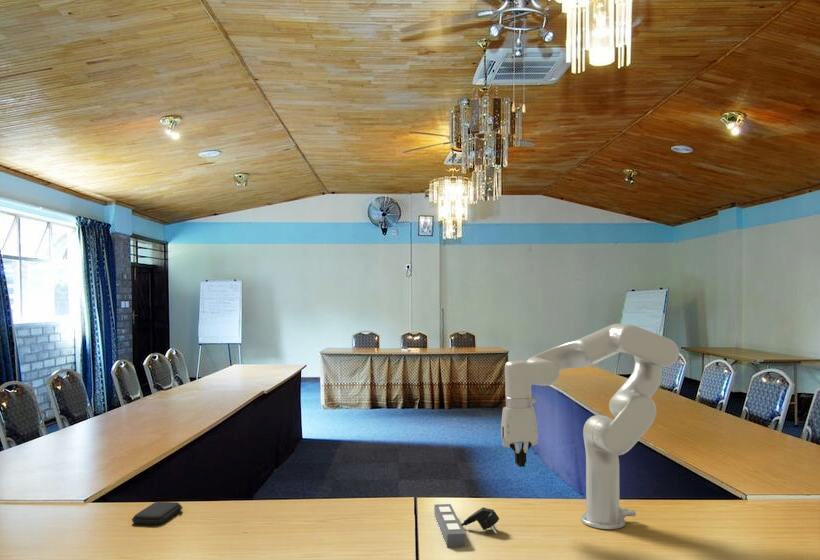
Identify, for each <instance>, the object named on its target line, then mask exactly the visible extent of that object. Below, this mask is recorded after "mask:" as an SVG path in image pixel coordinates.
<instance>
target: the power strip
mask: <svg viewBox="0 0 820 560" xmlns="http://www.w3.org/2000/svg"><path fill="white" fill-rule="evenodd" d="M433 505H434V506H433V508H434V509H433V510H434V515H435V516H434V518H435V517H436V519H435V521H436V520H437V521H436V523H437V522H438V524H437V526H438V525H439V526H438V528H439V527H440V529H439V531H440V530H441V531H440V533H441V532H442V533H441V536H442V535H443V536H442V539H443V541H444V540H445V541H444V543H445V542H446V543H445V545H447V546H446V548H463V547H464V548H465V547H466V541H467V540H466V532H465V530H464V527H463V526H461V524H462V523H461V522H460V520H459V518H458V515H457V514H456V512H455V509H454V508H453V506H452V505H451V503H443V504H442V503H441V504H439V503H438V504H433Z"/></svg>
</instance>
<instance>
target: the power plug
mask: <svg viewBox="0 0 820 560" xmlns="http://www.w3.org/2000/svg"><path fill="white" fill-rule="evenodd" d="M499 520H500V517H499V516H498V515H497V513H496V511H495V510H494V509H492V508H491V509H490V508H487V507H484V506H483V507H481V508H480V509H478V510H476V511H475V512H473V513H472V514H471V515H469V516H468V517H467V518H466V519H465V520H463V522H462V523H460V524H461V526H462V527H464V526H468V525H471V524H473V523H475V522H477V523H478V524H479V526H480V527H481V529H482V530H483V531H486V530H487V529H490V530H491V531H492V532H493V534H494V535H497V534H498V530H499V529H498V528H497V525H496V524H497V522H499Z"/></svg>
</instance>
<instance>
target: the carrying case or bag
mask: <svg viewBox="0 0 820 560" xmlns="http://www.w3.org/2000/svg"><path fill="white" fill-rule="evenodd" d="M183 508H184V507H183V506H182V505H181V503H180V502H173V501H155V502H153V503H152V504H150V505H149V506H147V507H145V508H143V509H142V510H140V511H139V512H137V513H136V514H135V515H134V516H133V517H132V519H131V521H132V523H133V524H134V525H135V526H136V525H137V526H138V525H141V526H161V525H162V524H163V523H165V522H166V521H168V520H169V519H171V518H172V517H173V516H175V515H176V514H178V513H181V512H182V510H183Z"/></svg>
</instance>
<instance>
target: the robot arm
mask: <svg viewBox="0 0 820 560" xmlns="http://www.w3.org/2000/svg"><path fill="white" fill-rule="evenodd" d="M619 353H624V354H629V355H632V356H633V358H634V367H633V371H632V372H631V375H630V376H629V377H628V378H627V379H626V381H625V382H624V383H623V384H622V385H621V386H620V388H619V389H618V390H617V391H616V392H615V393H614V395H613V396H612V397H611V398H610V401H609V403H608V409H609V410H608V411H610V413H611V414H612V416H614V418H612V417H609V416H606V415H603V414H595V415H592V416H590V417H589V418H588V419H587V420H586V421H585V423H584V425H583V429H582V430H583V431H582V432H583V433H582V434H583V435H582V436H583V443H584V448H585V449H584V450H585V490H586V492H585V493H586V494H585V499H586V500H585V501H586V502H585V505H586V507H585V509H586V512H583V513H582V514H581V515H580V521H581V522H582V523H583V524H585V525H586V526H588V527H592V528H595V529H600V530H618V529H622V528H623V527H625V526H626V520H625V518H626V517H629V518H630V517H636V513H637V512H636V510H635V509H628V508H627V507H621V506H620V458H619V456H621V455H625V454H626V453H628V452H629V451H630V450H631V449H632V448H633V447H634V446H635V445H636V444H637V443H638V442H639V440H640V439H641V438H642V437H643V436H644V435H645V433H646V432H647V431H648V430H649V428H650V427H651V426H652V425H653V423H654V422H655V420H656V416H657V405H656V402H655V401H654V399H652V398H653V396H654V395H655V394H656V392H657V391H658V389H659V387H660V386H661V381H662V368H666V367H671V366H673V365H675V363H677V361H678V360H679V357H680V349H679V347H678V345H677V343H676V341H675V342H674V341H673V340H672V339H670V338H668V337H666V336H664V335H661V334H657V333H656V332H652V331H650V330H647V329H646V328H645V329H644V328H642V327H640V326H636V325H633V324H626V323H613V324H611V325H607V326H605V327H603V328H601V329H599V330H597V331H594V332H592V333H590V334H588V335H585V336H583V337H581V338H578V339H576V340H572V341H569V342H566V343H564V344H561V345H557V346H554V347H552V348H549V349H546V350H544V351H542V352H540V353H537V354H535V355H533V356H531V357H530V358H528V359H527V360H510V361H509V360H508V361H506V363H505V364H504V385H505V386H504V390H505V406H504V407H502V412H501V414H502V415H501V424H500V436H501V437H500V438H501V439H502V441H501V442H502V443H501V445H502V446H503V448H509V449H511V450H513V452H514V462H515V464H516V466H518V467H519V468H522V467H524V468H525V467H526V463H527V453H528V451H529V449H531V447H533V446H536V445H538V444H539V441H538V438H539V432H538V431H539V430H538V422H537V417H536V416H537V415H536V411H535V407H534V406H533V404H534V403H537V399H536V398H537V397H533V396H532V386H542V387H548V386H552V385H553V384H555V383H556V382H557V381H558V380H559V378H560V373H561V372H560V371H563V370H568V369H576V368H579V369H580V368H585V367H590V366H593V365H595V364H598V363H599V362H602V361H604V360H606V359H608V358H610V357H613V356H614V355H617V354H619ZM520 443H521V444H520Z"/></svg>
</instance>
